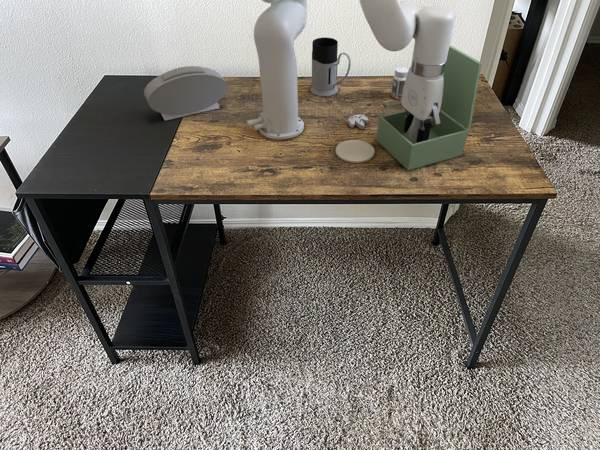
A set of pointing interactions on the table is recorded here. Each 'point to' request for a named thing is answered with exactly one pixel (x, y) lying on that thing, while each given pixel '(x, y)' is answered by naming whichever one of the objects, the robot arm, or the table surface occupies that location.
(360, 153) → the coaster
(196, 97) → the alarm clock
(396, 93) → the pill bottle
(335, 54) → the glass holder
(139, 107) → the table surface
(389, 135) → the box
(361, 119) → the game controller
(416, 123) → the flask
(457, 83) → the box lid
